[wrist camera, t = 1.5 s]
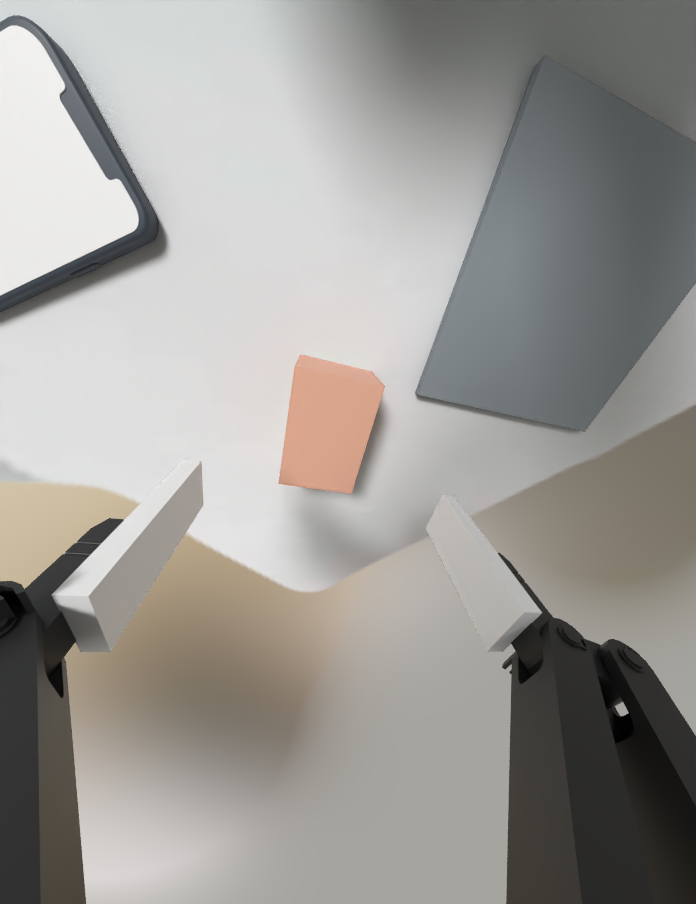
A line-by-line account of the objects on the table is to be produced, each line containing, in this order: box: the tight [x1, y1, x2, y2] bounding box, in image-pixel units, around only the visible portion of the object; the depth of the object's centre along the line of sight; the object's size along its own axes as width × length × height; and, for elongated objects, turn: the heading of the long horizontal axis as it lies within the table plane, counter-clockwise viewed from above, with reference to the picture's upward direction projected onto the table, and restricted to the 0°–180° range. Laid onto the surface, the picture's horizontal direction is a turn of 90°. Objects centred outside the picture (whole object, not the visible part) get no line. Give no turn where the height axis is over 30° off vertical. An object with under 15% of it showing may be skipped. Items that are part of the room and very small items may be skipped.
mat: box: [415, 56, 696, 432], centre depth 21 cm, size 20×20×1 cm
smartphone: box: [0, 16, 158, 312], centre depth 15 cm, size 9×2×16 cm
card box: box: [279, 355, 385, 494], centre depth 22 cm, size 10×6×6 cm, turn 166°
